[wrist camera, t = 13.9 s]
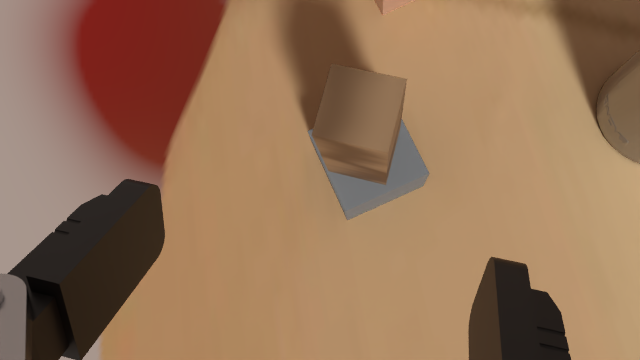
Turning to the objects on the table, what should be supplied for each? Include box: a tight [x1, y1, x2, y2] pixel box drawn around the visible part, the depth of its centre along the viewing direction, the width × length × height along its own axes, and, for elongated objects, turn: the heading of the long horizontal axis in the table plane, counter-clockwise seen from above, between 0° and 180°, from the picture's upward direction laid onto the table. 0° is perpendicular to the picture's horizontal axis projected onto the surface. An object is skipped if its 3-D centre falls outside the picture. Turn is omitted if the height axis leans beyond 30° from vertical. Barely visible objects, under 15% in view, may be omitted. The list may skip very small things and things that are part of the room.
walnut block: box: [312, 64, 407, 185], centre depth 35 cm, size 4×4×10 cm
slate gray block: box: [308, 119, 429, 220], centre depth 42 cm, size 7×7×5 cm
